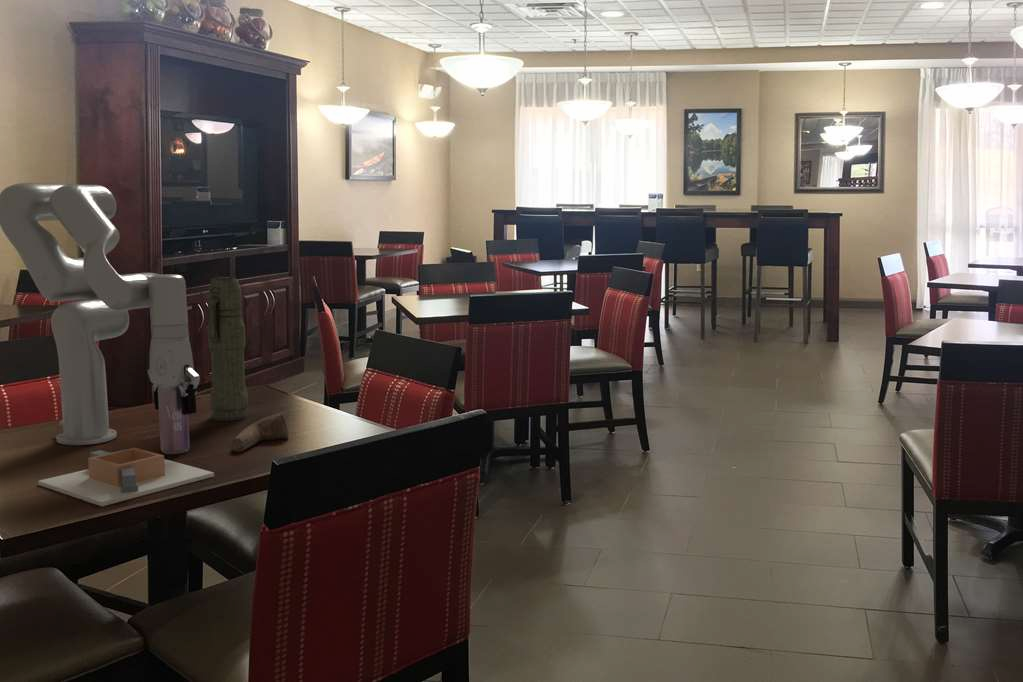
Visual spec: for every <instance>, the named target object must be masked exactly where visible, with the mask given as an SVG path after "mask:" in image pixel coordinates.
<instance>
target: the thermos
mask: <svg viewBox="0 0 1023 682" xmlns="http://www.w3.org/2000/svg"><path fill="white" fill-rule="evenodd" d="M242 300H243V299H242V288H241V285H240V283H239V280H238V278H235V277H234V276H215V277H214V278H211V280H210V284H209V287H208V303H207V318H208V321H207V322H208V325H207V340H208V349H209V352H210V360H211V361H210V362H211V366H210V367H211V388H210V392H209V394H210V408H211V419H212V420H214V421H219V422H220V421H221V422H231V421H239V420H244V419H246V418H248V417H249V413H248V408H249V396H248V395H249V392H248V389H247V386H246V379H245V378H246V376H245V348H246V345H247V344H246V327H245V324H244V320H243V301H242Z"/></svg>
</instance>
